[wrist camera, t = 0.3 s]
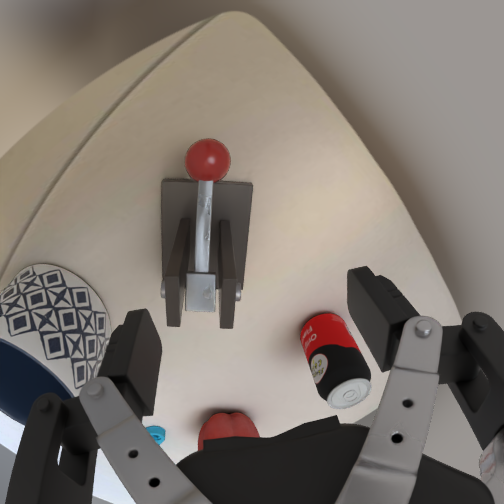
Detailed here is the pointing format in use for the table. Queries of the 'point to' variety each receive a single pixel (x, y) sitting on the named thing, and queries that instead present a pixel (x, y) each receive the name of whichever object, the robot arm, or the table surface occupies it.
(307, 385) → the table surface
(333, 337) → the beverage can
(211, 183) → the tap lever
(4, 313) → the planter
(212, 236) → the grey lever stand
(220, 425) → the vegetable
